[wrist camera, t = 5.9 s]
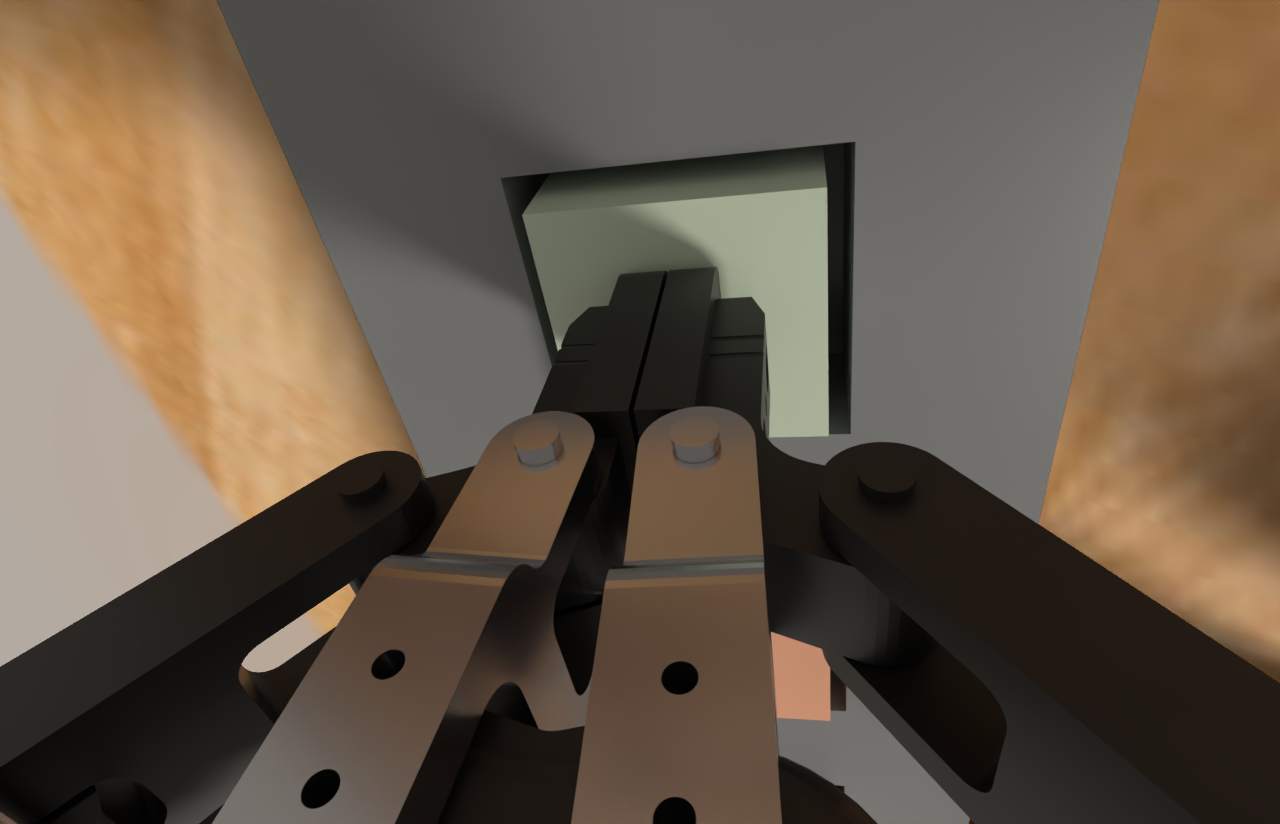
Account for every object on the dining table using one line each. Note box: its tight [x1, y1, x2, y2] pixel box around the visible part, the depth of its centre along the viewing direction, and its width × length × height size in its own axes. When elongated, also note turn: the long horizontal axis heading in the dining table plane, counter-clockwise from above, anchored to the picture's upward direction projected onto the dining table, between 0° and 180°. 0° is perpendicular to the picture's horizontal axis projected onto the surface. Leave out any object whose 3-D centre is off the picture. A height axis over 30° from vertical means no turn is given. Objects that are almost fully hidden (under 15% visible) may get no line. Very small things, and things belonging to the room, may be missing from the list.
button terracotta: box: [771, 632, 830, 721], centre depth 18 cm, size 4×4×3 cm
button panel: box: [217, 0, 1159, 824], centre depth 19 cm, size 12×29×3 cm, turn 9°
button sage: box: [522, 145, 829, 437], centre depth 13 cm, size 4×4×3 cm
